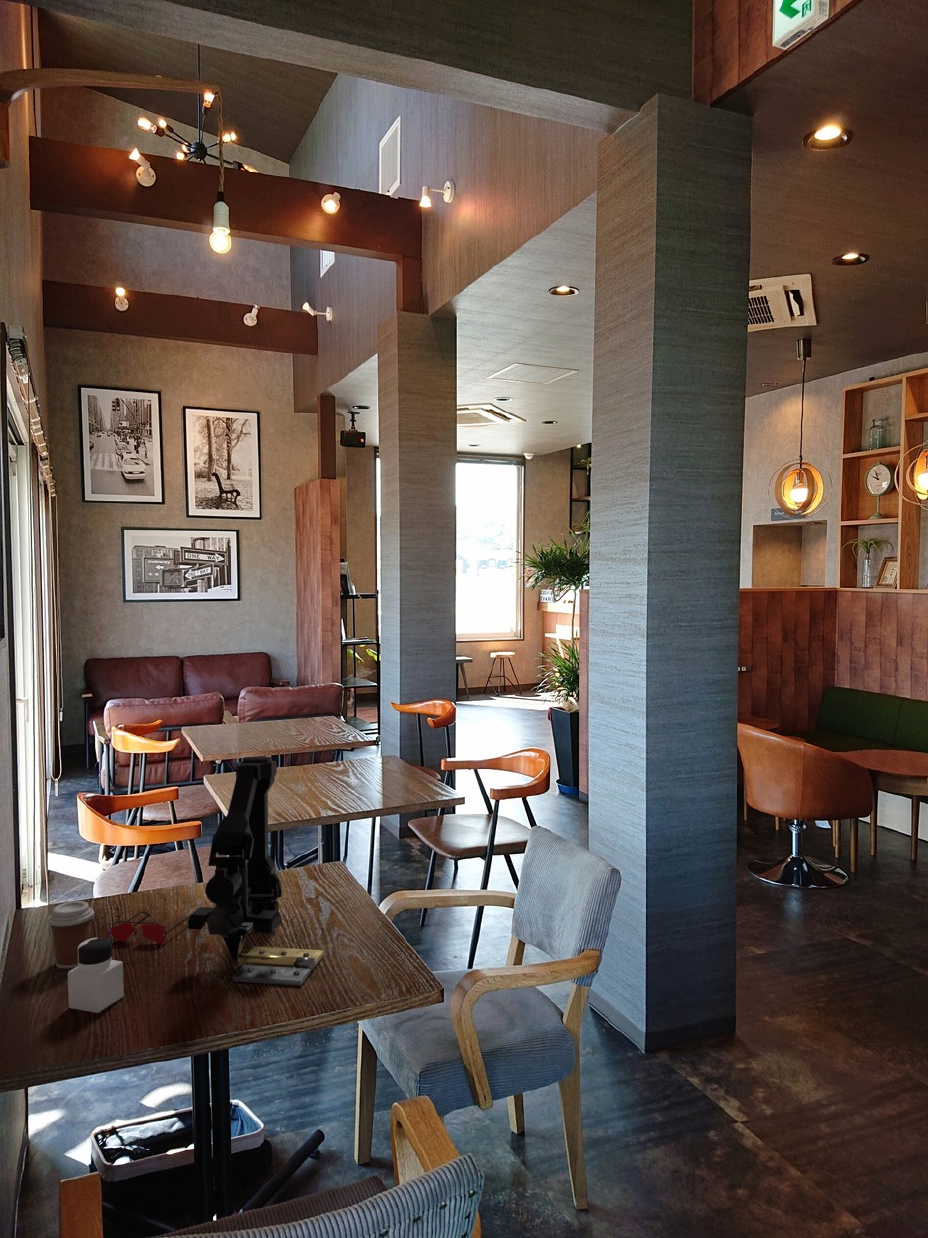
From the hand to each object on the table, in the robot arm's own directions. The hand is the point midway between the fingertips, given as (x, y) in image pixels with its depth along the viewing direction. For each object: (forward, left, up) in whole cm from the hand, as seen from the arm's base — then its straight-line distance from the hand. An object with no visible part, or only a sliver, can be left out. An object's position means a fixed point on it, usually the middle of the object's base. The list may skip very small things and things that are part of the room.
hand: (235, 960), depth 181 cm
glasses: (-27, +16, -2) cm, 32 cm away
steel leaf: (+10, -3, -1) cm, 10 cm away
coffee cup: (-36, -3, -1) cm, 36 cm away
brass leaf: (+9, +3, -1) cm, 10 cm away
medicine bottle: (-20, -19, -2) cm, 27 cm away
